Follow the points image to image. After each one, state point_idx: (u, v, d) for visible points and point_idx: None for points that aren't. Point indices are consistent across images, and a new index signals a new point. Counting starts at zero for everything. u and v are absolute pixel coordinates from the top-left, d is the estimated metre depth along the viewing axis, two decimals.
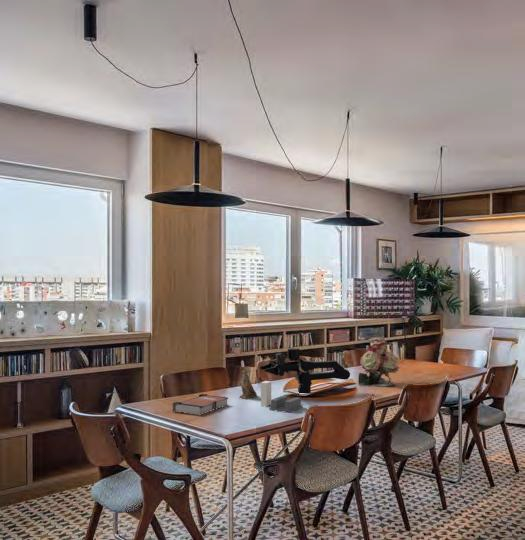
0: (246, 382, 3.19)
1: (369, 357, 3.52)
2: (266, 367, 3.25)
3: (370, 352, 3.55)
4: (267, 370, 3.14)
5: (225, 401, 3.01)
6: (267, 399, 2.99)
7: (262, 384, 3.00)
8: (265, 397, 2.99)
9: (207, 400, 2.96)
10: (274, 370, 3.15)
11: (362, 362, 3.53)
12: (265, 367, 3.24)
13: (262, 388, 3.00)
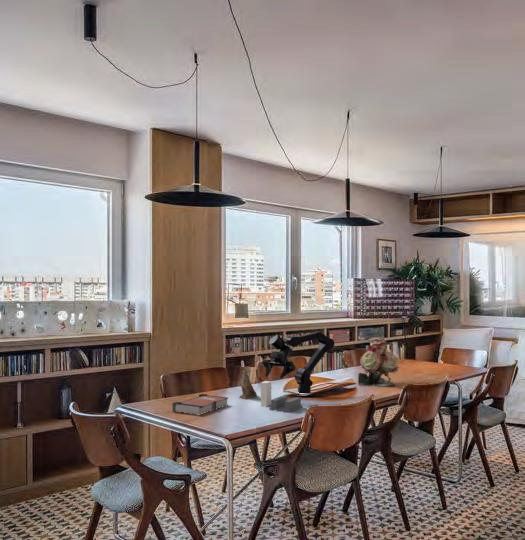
0: (246, 382, 3.19)
1: (369, 357, 3.52)
2: (268, 371, 3.13)
3: (370, 352, 3.55)
4: (282, 376, 3.07)
5: (225, 401, 3.01)
6: (267, 399, 2.99)
7: (262, 384, 3.00)
8: (265, 397, 2.99)
9: (207, 400, 2.96)
10: (286, 370, 3.09)
11: (362, 362, 3.54)
12: (268, 371, 3.13)
13: (262, 388, 3.00)
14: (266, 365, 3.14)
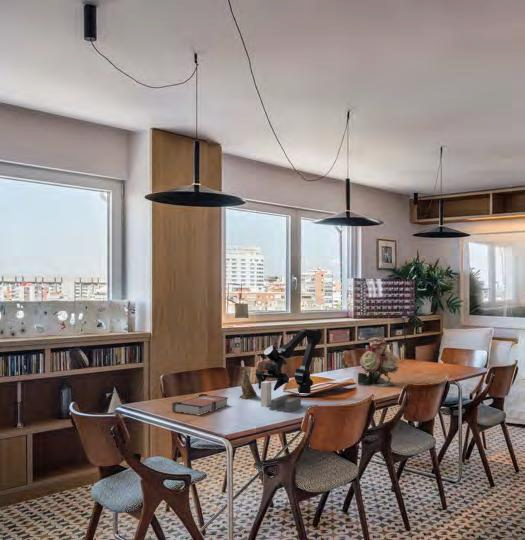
0: (246, 382, 3.19)
1: (369, 357, 3.53)
2: None
3: (370, 352, 3.55)
4: (276, 388, 3.00)
5: (225, 401, 3.01)
6: (267, 399, 2.99)
7: (262, 384, 3.00)
8: (265, 397, 2.99)
9: (207, 400, 2.96)
10: (279, 382, 3.02)
11: (362, 362, 3.54)
12: None
13: (262, 388, 3.00)
14: (259, 377, 3.07)
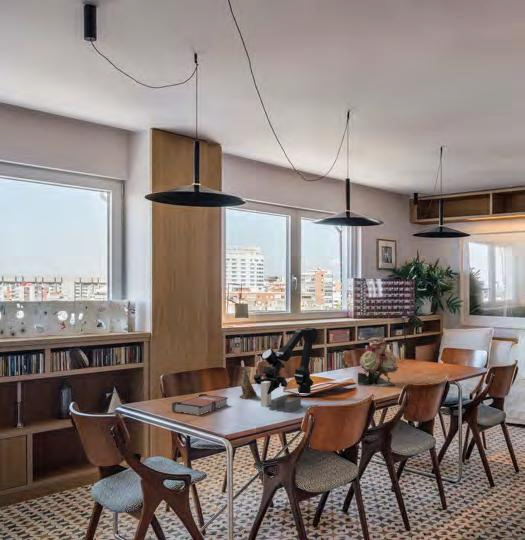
0: (246, 382, 3.19)
1: (368, 357, 3.53)
2: None
3: (369, 352, 3.56)
4: (269, 391, 3.00)
5: (225, 401, 3.01)
6: (267, 399, 2.99)
7: (262, 384, 3.00)
8: (265, 397, 2.98)
9: (206, 400, 2.96)
10: (273, 385, 3.02)
11: (361, 362, 3.54)
12: None
13: (262, 388, 3.00)
14: (261, 381, 3.04)
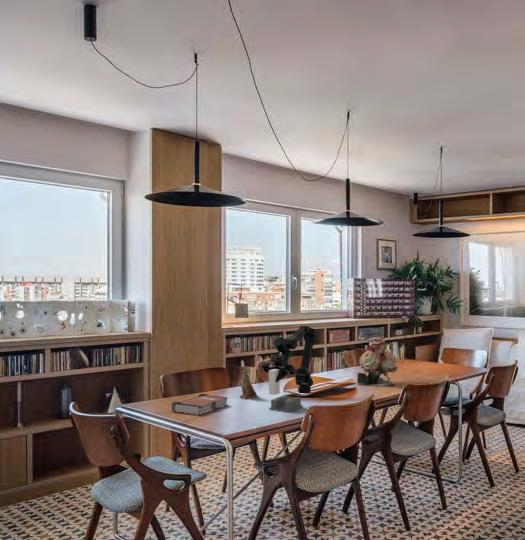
0: (246, 382, 3.19)
1: (368, 357, 3.53)
2: None
3: (369, 352, 3.56)
4: (278, 379, 2.97)
5: (224, 401, 3.01)
6: (275, 387, 2.96)
7: (270, 372, 2.97)
8: (273, 385, 2.95)
9: (206, 400, 2.96)
10: (281, 374, 2.99)
11: (361, 362, 3.55)
12: None
13: (270, 376, 2.96)
14: (270, 369, 3.01)
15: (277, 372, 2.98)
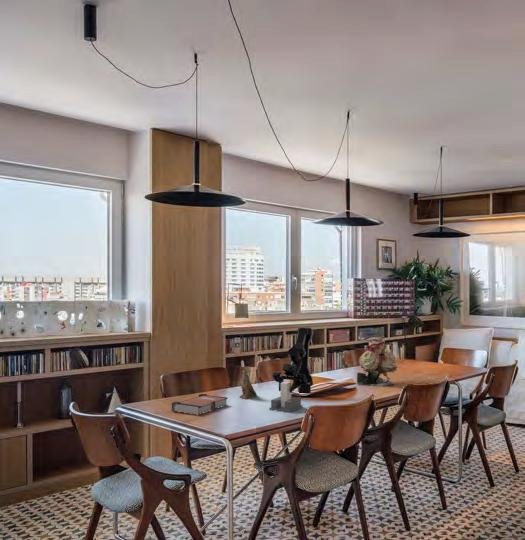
0: (246, 382, 3.19)
1: (368, 357, 3.54)
2: None
3: (369, 352, 3.56)
4: (292, 389, 2.91)
5: (224, 401, 3.01)
6: None
7: (282, 385, 2.92)
8: (285, 398, 2.91)
9: (206, 400, 2.96)
10: (295, 383, 2.94)
11: (361, 362, 3.55)
12: None
13: (282, 389, 2.92)
14: (279, 378, 2.97)
15: (289, 385, 2.93)
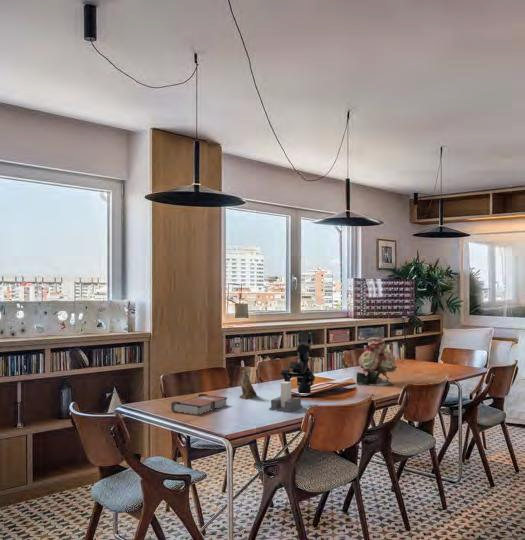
0: (246, 382, 3.19)
1: (367, 357, 3.54)
2: (287, 381, 3.05)
3: (368, 352, 3.57)
4: (302, 386, 2.98)
5: (224, 401, 3.01)
6: None
7: (282, 385, 2.92)
8: (285, 398, 2.91)
9: (206, 400, 2.96)
10: (305, 381, 3.01)
11: (360, 362, 3.55)
12: None
13: (282, 389, 2.92)
14: (285, 376, 3.06)
15: (289, 385, 2.93)
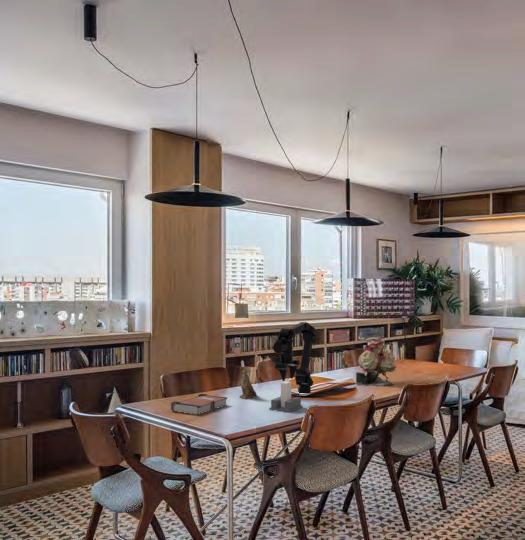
0: (246, 382, 3.19)
1: (367, 356, 3.55)
2: (291, 371, 3.15)
3: (368, 351, 3.57)
4: (283, 378, 3.06)
5: (224, 401, 3.01)
6: None
7: (282, 385, 2.92)
8: (285, 398, 2.91)
9: (206, 400, 2.96)
10: (282, 371, 3.06)
11: (360, 361, 3.56)
12: (291, 372, 3.15)
13: (282, 389, 2.92)
14: None
15: (289, 385, 2.93)
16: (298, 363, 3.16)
